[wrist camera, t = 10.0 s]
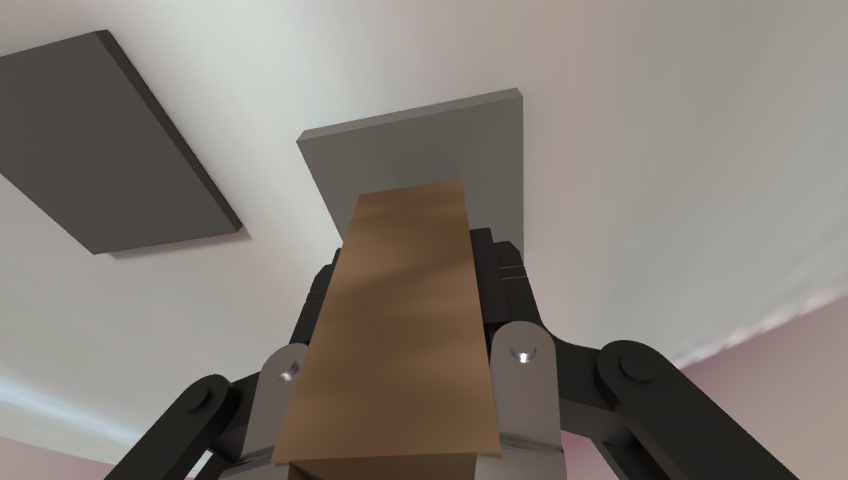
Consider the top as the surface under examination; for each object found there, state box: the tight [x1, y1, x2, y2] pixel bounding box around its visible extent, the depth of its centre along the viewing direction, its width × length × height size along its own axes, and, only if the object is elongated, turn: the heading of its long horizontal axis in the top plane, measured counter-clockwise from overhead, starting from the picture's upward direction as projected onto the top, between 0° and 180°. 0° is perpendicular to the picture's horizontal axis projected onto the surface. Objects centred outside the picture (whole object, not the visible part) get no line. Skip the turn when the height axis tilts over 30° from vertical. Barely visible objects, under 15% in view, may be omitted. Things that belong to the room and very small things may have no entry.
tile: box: [296, 88, 524, 265], centre depth 16 cm, size 9×2×9 cm
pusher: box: [270, 178, 502, 480], centre depth 9 cm, size 4×4×8 cm
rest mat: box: [0, 30, 243, 255], centre depth 15 cm, size 9×9×1 cm
